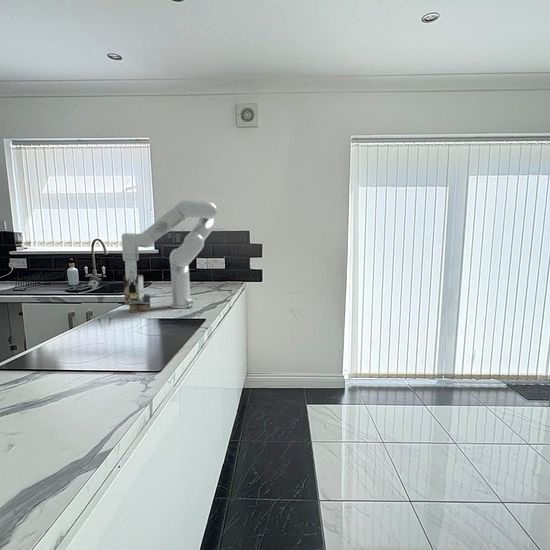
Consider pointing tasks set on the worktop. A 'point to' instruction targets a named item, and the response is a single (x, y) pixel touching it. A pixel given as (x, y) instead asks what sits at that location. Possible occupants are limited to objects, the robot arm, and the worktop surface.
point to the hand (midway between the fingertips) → (132, 292)
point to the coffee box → (138, 288)
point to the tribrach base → (139, 307)
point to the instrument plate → (136, 299)
